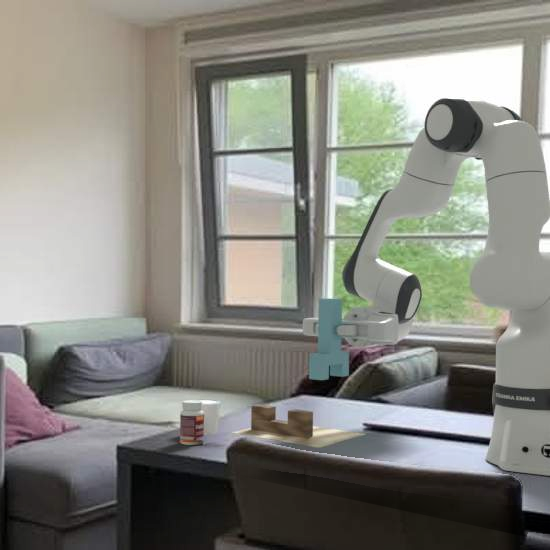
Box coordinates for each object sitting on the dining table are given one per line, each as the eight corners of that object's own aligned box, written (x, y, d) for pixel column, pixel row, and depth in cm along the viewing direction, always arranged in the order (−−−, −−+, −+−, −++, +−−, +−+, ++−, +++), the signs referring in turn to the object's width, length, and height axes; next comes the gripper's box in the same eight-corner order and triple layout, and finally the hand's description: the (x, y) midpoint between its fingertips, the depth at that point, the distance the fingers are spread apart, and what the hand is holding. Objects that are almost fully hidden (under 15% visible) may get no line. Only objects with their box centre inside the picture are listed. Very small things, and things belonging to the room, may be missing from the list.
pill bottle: (199, 446, 155) (200, 403, 155) (176, 444, 156) (177, 402, 156) (206, 441, 160) (207, 400, 160) (184, 440, 161) (184, 399, 161)
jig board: (366, 441, 162) (366, 409, 162) (319, 455, 148) (320, 421, 148) (280, 427, 175) (281, 398, 175) (231, 439, 161) (231, 408, 161)
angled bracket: (348, 375, 162) (349, 298, 162) (321, 380, 154) (322, 299, 154) (336, 374, 164) (337, 297, 164) (309, 378, 156) (310, 298, 156)
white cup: (200, 430, 171) (200, 398, 171) (226, 433, 168) (226, 400, 168) (181, 435, 165) (181, 402, 165) (208, 439, 162) (208, 405, 162)
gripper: (323, 310, 176) (286, 312, 165) (404, 314, 163) (370, 316, 152) (322, 338, 176) (286, 342, 165) (404, 344, 163) (370, 349, 152)
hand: (327, 330), depth 159 cm, fingers closed on angled bracket, 3 cm apart
